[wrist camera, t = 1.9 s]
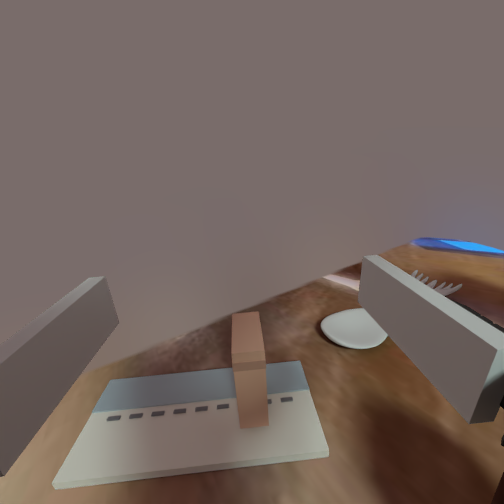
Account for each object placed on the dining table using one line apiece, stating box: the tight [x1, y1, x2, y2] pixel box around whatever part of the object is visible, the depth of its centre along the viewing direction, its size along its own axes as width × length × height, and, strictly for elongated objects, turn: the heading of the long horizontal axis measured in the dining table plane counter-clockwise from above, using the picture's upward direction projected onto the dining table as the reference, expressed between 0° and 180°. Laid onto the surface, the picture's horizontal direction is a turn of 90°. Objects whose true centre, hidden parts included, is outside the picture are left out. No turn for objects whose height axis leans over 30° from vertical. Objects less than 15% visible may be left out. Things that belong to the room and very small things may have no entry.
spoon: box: [321, 270, 462, 349], centre depth 43 cm, size 9×32×4 cm, turn 120°
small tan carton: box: [231, 311, 269, 429], centre depth 25 cm, size 3×6×10 cm, turn 4°
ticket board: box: [52, 361, 329, 490], centre depth 27 cm, size 26×11×1 cm, turn 94°
